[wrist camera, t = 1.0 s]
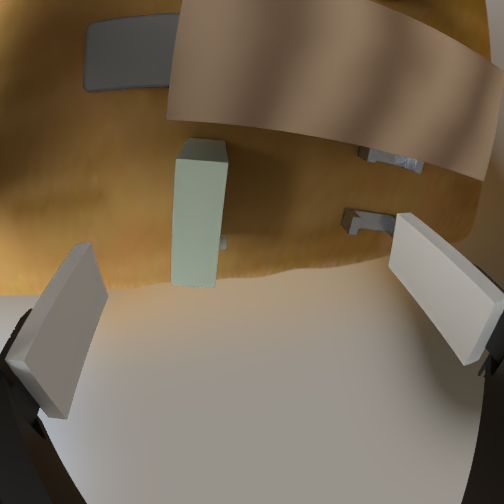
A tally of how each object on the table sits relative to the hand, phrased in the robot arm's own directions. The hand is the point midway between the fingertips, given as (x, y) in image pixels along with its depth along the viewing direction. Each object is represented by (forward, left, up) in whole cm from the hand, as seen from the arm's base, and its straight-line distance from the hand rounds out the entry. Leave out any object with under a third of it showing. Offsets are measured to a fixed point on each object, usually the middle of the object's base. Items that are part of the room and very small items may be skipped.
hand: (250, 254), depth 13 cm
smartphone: (-8, +10, -20) cm, 24 cm away
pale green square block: (-2, -4, -20) cm, 20 cm away
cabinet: (+7, +9, -20) cm, 23 cm away
